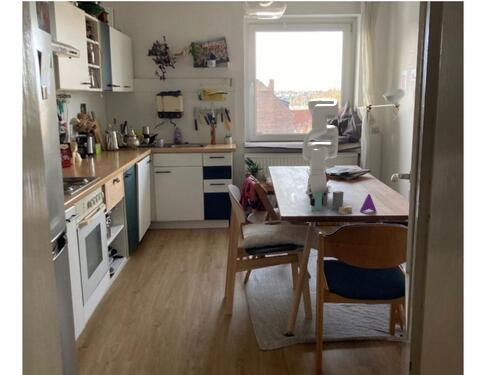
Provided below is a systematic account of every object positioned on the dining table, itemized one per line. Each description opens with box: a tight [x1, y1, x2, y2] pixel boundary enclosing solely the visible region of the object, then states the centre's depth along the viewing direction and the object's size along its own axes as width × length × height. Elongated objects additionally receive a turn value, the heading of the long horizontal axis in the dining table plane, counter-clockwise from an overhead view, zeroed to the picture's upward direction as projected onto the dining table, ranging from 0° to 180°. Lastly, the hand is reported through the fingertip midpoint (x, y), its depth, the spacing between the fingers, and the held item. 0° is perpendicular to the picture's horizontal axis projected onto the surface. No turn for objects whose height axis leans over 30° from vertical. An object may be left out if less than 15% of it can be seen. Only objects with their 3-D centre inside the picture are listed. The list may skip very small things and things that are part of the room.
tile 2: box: [331, 190, 344, 212], centre depth 236 cm, size 3×5×10 cm, turn 118°
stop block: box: [338, 205, 353, 215], centre depth 232 cm, size 6×3×3 cm, turn 118°
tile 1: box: [322, 187, 329, 206], centre depth 248 cm, size 3×5×10 cm, turn 118°
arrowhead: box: [359, 193, 378, 213], centre depth 233 cm, size 10×2×10 cm
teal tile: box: [310, 193, 323, 211], centre depth 238 cm, size 3×5×10 cm, turn 118°
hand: (316, 204), depth 238 cm, fingers closed on teal tile, 4 cm apart
